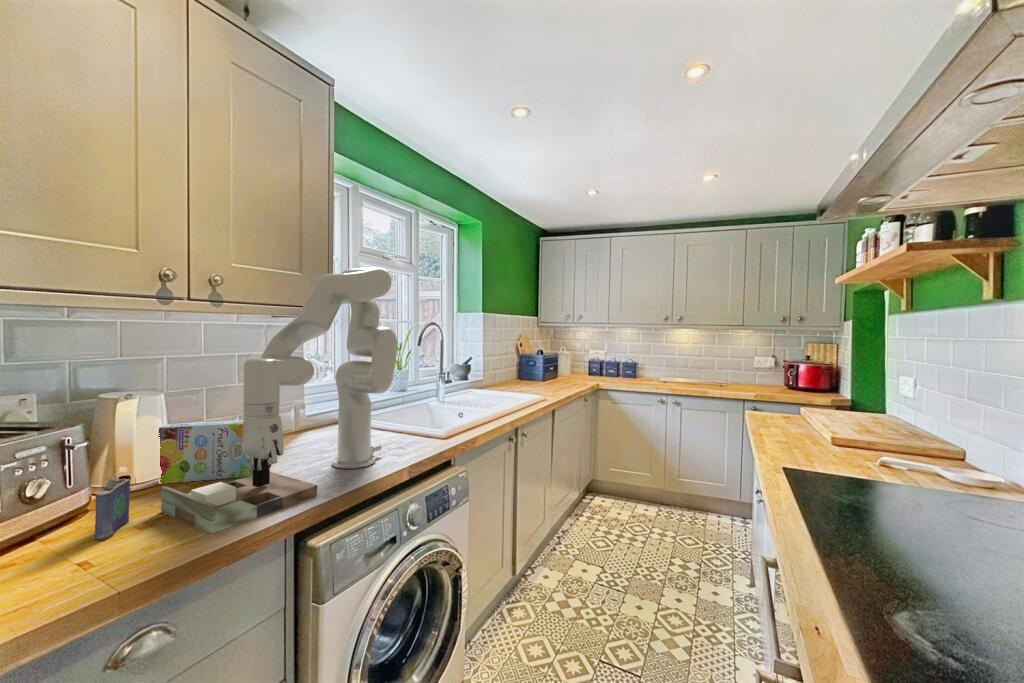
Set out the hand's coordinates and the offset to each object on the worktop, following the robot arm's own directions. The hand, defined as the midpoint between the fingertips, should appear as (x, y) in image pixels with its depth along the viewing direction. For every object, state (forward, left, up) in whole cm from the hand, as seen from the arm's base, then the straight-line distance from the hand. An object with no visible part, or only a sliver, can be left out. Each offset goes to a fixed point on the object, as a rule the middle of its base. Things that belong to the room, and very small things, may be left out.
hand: (261, 484), depth 103 cm
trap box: (+4, 0, -3) cm, 5 cm away
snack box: (-1, -25, -3) cm, 25 cm away
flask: (+25, -8, -3) cm, 26 cm away
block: (+11, 0, -1) cm, 11 cm away
